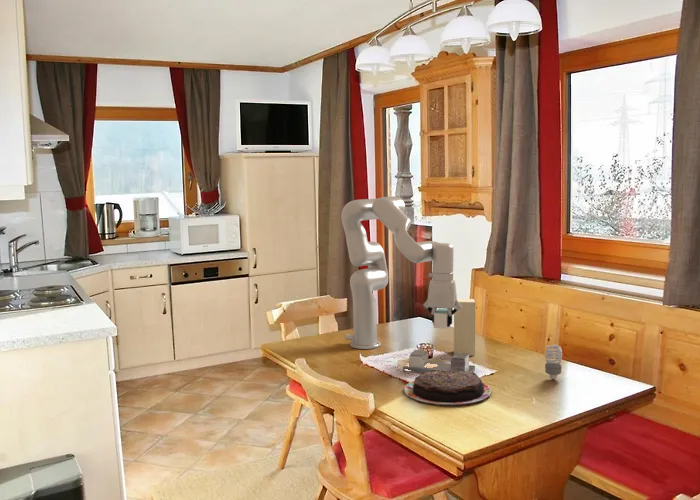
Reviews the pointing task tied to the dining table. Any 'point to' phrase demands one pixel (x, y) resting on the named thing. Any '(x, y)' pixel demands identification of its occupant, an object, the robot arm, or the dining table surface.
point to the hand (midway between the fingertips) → (442, 324)
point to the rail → (421, 359)
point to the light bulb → (553, 361)
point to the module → (440, 318)
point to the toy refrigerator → (465, 327)
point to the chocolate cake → (448, 388)
